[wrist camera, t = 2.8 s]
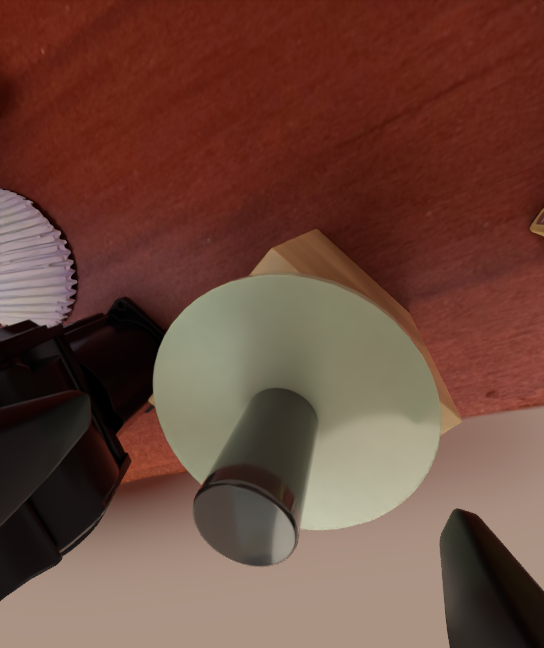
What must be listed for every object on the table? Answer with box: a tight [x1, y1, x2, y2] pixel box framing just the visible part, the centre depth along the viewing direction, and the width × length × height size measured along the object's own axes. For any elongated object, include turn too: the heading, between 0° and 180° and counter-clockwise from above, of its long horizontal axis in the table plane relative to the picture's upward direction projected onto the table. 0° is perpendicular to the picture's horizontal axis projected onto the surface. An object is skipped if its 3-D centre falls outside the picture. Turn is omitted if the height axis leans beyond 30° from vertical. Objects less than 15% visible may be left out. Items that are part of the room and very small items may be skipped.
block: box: [148, 228, 462, 436], centre depth 15 cm, size 7×7×10 cm
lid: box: [153, 272, 441, 567], centre depth 8 cm, size 9×9×4 cm
